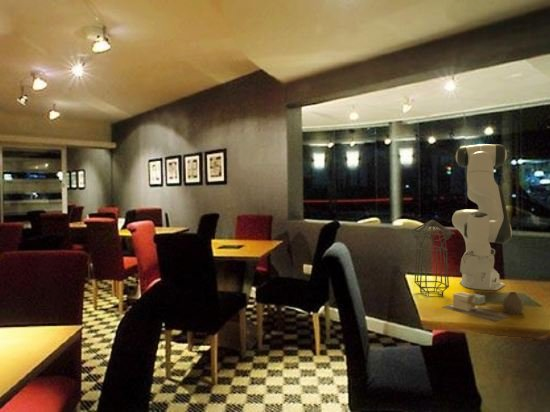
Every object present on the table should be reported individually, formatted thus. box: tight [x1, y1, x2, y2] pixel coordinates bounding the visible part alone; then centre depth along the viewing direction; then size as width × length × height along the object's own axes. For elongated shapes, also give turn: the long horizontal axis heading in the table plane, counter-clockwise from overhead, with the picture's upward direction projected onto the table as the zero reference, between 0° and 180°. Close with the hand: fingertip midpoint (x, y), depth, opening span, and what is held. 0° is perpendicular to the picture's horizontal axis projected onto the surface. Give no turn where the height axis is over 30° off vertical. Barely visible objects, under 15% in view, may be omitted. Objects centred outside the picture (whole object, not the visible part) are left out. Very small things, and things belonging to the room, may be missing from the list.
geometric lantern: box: [411, 219, 456, 298], centre depth 192 cm, size 16×16×35 cm
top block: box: [472, 293, 486, 305], centre depth 176 cm, size 5×5×4 cm
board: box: [441, 303, 514, 323], centre depth 164 cm, size 13×22×1 cm, turn 34°
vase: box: [502, 291, 524, 315], centre depth 162 cm, size 7×7×9 cm
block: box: [452, 291, 476, 309], centre depth 169 cm, size 6×6×5 cm
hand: (476, 282), depth 175 cm, fingers open, 8 cm apart
